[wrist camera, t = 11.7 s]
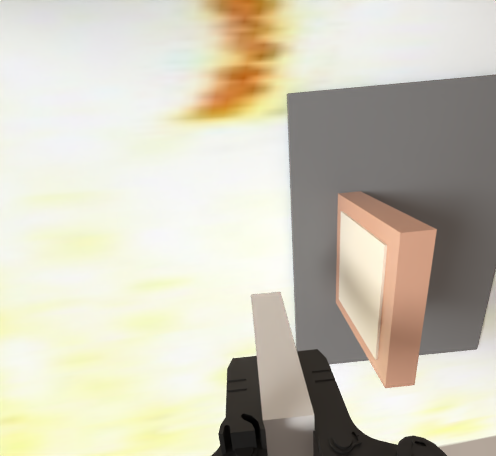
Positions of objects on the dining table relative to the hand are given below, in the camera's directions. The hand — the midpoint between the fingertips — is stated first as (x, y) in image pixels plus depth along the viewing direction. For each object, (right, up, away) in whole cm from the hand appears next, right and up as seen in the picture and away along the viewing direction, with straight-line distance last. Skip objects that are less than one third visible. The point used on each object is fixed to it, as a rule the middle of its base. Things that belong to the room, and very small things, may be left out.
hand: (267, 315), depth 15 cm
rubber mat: (+10, +3, +7) cm, 13 cm away
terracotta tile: (+7, +3, +7) cm, 10 cm away
